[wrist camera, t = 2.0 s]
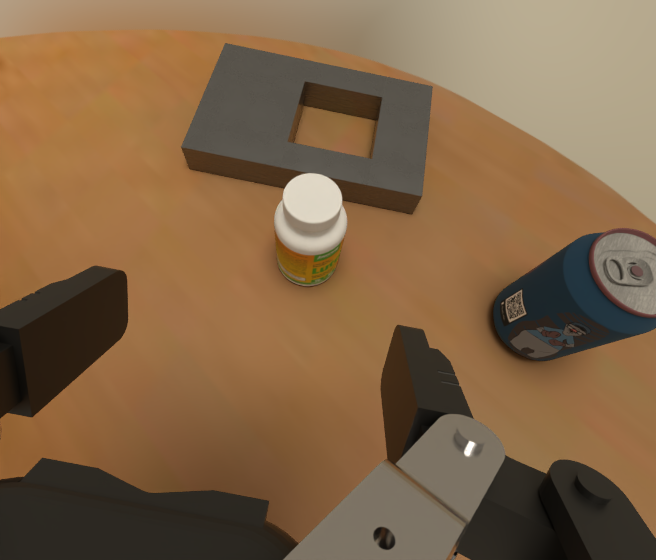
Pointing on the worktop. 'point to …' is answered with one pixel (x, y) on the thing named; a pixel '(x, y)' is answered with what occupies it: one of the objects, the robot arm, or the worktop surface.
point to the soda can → (581, 296)
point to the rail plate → (283, 119)
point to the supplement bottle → (309, 229)
